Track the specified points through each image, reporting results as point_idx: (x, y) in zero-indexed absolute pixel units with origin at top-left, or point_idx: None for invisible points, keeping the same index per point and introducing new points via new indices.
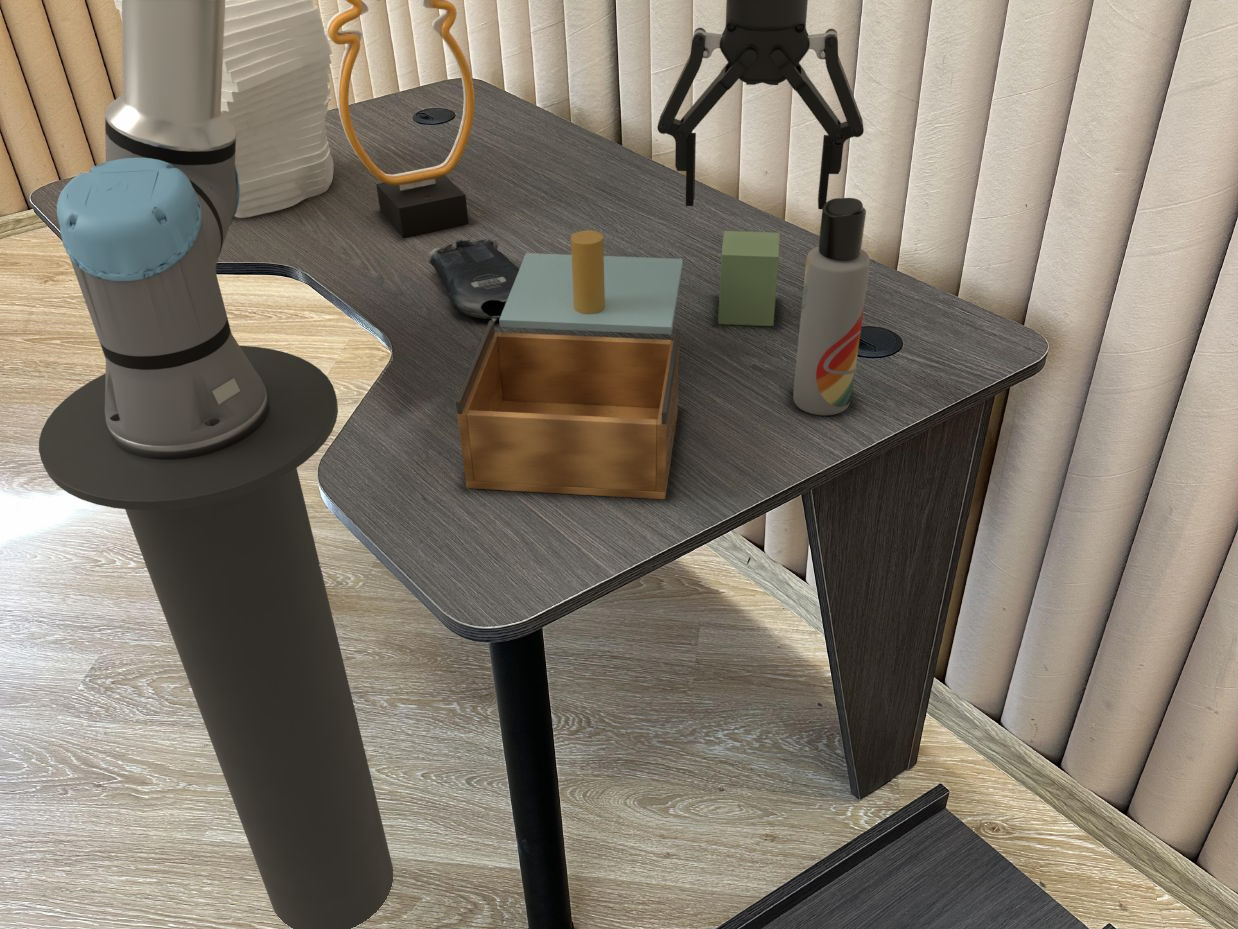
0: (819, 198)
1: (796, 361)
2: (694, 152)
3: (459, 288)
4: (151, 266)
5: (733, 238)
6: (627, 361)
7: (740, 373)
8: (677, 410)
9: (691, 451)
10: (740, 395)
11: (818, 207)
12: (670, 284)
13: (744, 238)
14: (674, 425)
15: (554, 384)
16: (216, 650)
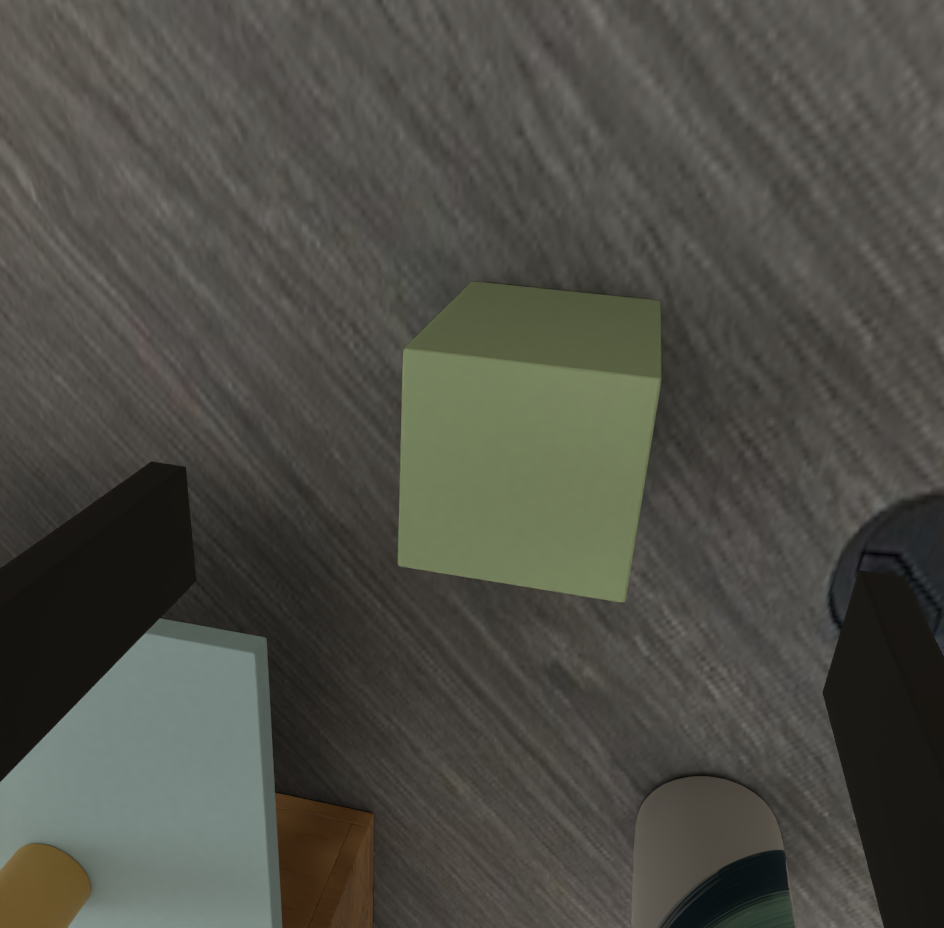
0: (834, 734)
1: (632, 906)
2: (20, 704)
3: None
4: None
5: (444, 428)
6: None
7: (517, 695)
8: (370, 831)
9: (409, 922)
10: (512, 776)
11: (825, 696)
12: (240, 803)
13: (491, 433)
14: (365, 904)
15: None
16: None
